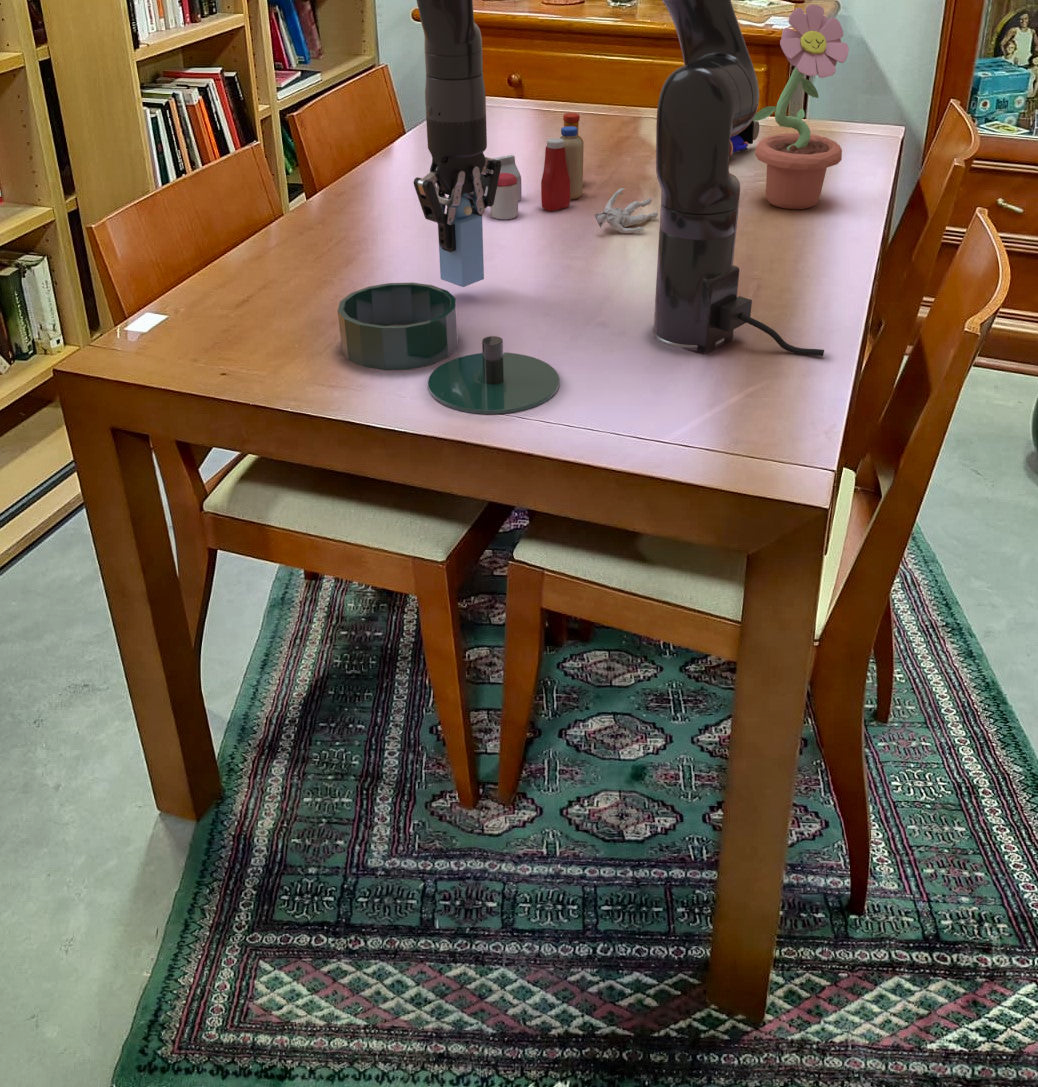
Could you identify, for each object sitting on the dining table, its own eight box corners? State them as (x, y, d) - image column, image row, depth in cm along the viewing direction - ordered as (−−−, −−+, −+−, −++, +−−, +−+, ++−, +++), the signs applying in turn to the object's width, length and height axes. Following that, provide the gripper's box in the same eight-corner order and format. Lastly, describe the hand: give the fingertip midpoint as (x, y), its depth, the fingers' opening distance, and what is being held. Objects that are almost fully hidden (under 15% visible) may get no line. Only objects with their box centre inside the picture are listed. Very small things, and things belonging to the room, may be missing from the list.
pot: (481, 347, 142) (479, 302, 139) (395, 385, 134) (391, 338, 130) (405, 317, 151) (402, 274, 147) (320, 351, 142) (314, 306, 139)
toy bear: (484, 279, 153) (481, 192, 146) (463, 287, 151) (459, 199, 144) (461, 271, 155) (458, 185, 149) (440, 279, 153) (435, 192, 146)
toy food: (571, 179, 201) (572, 109, 194) (615, 197, 192) (618, 124, 185) (443, 208, 189) (439, 134, 182) (484, 228, 180) (481, 151, 173)
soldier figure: (667, 230, 181) (628, 226, 172) (644, 246, 184) (605, 243, 174) (646, 188, 182) (607, 181, 172) (624, 205, 185) (584, 200, 175)
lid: (586, 385, 133) (587, 337, 130) (494, 432, 124) (493, 382, 120) (493, 349, 142) (491, 303, 138) (401, 390, 133) (397, 342, 129)
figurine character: (724, 152, 219) (695, 162, 208) (729, 110, 216) (700, 118, 204) (757, 156, 216) (729, 167, 205) (763, 114, 213) (735, 123, 201)
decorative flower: (767, 220, 181) (790, 17, 164) (730, 195, 192) (747, 2, 175) (850, 211, 184) (881, 11, 167) (809, 187, 195) (834, -4, 178)
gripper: (434, 128, 134) (441, 267, 144) (517, 106, 143) (518, 238, 152) (393, 117, 139) (402, 253, 148) (475, 97, 147) (479, 226, 157)
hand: (461, 245), depth 150 cm, fingers closed on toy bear, 4 cm apart
